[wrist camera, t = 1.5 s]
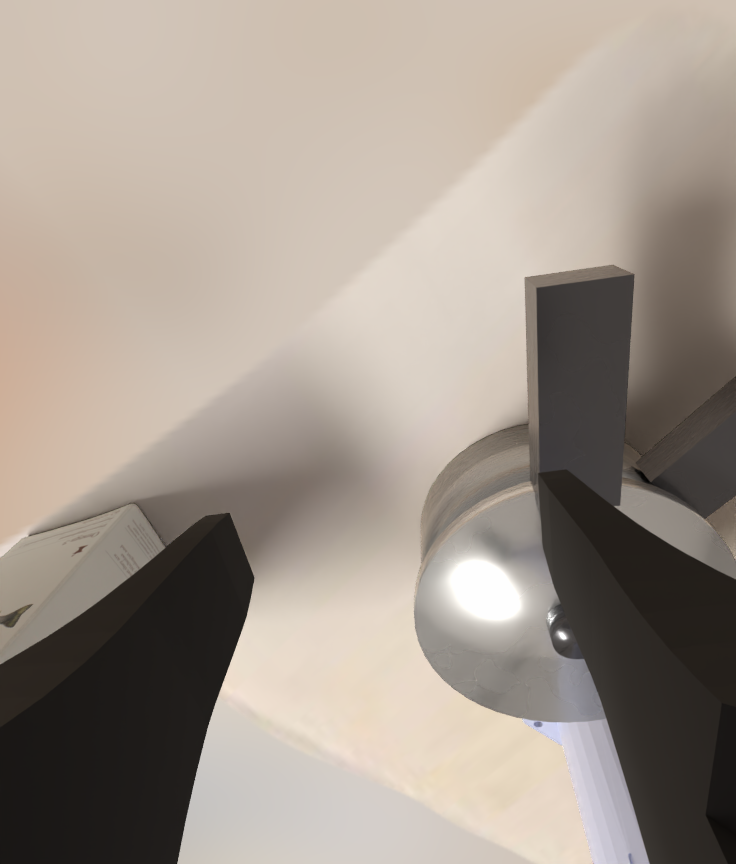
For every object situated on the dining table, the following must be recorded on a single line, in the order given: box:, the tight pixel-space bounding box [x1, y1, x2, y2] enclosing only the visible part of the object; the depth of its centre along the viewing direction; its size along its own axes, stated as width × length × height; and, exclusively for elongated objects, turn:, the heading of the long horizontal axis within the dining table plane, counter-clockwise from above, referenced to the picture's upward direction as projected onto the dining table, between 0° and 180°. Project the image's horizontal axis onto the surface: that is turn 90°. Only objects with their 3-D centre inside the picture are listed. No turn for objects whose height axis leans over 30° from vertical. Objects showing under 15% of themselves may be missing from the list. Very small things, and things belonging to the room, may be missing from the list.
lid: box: [414, 265, 736, 723], centre depth 18 cm, size 18×12×2 cm, turn 9°
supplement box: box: [0, 504, 166, 664], centre depth 22 cm, size 7×7×13 cm
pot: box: [421, 376, 736, 565], centre depth 21 cm, size 11×18×4 cm, turn 144°
